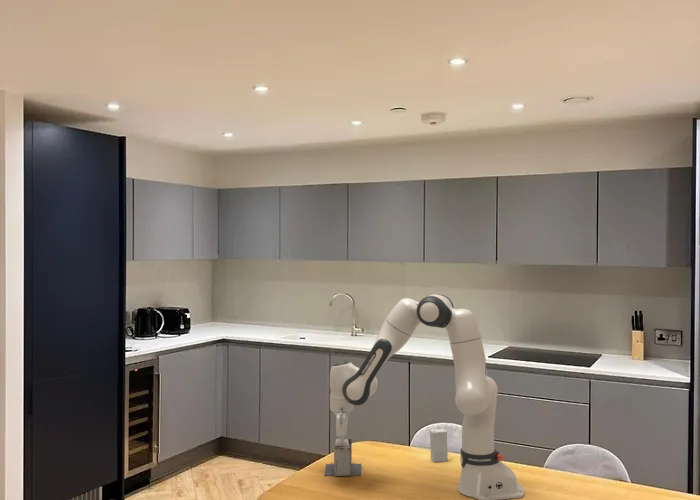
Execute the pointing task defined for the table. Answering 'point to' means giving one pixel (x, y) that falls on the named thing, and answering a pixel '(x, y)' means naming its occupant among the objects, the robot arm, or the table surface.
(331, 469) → the mat
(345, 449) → the coffee box
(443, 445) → the skincare box
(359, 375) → the robot arm
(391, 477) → the table surface
